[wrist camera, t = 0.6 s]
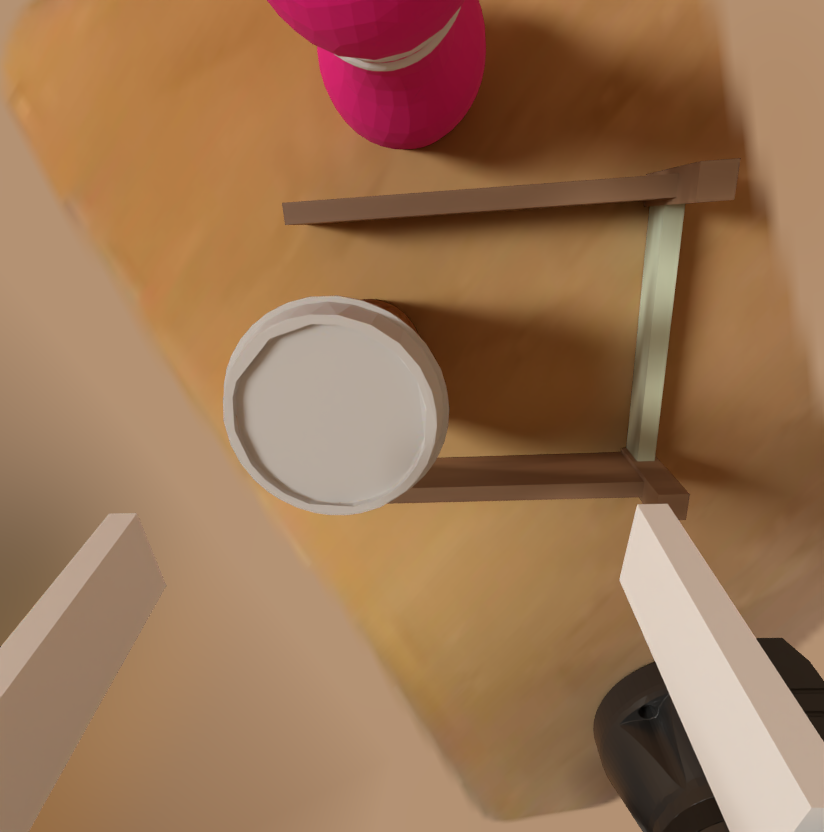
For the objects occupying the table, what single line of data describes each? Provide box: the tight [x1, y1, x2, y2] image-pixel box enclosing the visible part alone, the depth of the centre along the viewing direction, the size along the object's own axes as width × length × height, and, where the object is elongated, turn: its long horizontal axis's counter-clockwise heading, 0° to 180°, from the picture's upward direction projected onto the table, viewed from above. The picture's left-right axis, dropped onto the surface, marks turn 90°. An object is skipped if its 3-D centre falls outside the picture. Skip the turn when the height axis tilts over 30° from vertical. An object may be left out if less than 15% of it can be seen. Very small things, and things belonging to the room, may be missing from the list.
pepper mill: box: [267, 0, 486, 149], centre depth 16 cm, size 7×7×20 cm
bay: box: [282, 158, 741, 520], centre depth 28 cm, size 18×20×6 cm
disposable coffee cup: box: [223, 296, 449, 515], centre depth 25 cm, size 10×10×12 cm
